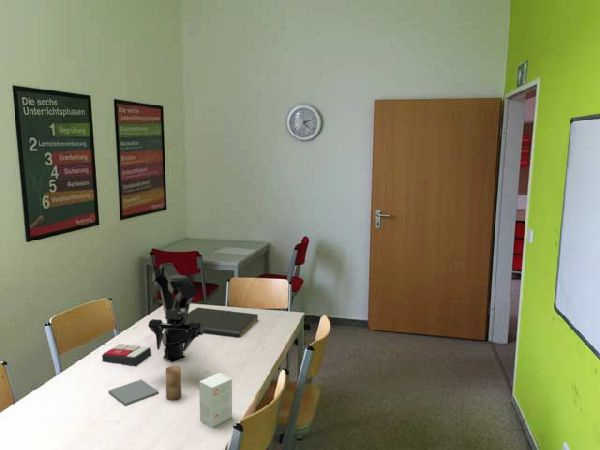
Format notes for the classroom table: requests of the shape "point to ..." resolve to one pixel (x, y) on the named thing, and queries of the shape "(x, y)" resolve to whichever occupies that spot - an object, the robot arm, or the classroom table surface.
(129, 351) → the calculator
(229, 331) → the file folder
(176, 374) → the roller
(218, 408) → the small box
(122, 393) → the pad
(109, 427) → the classroom table surface
